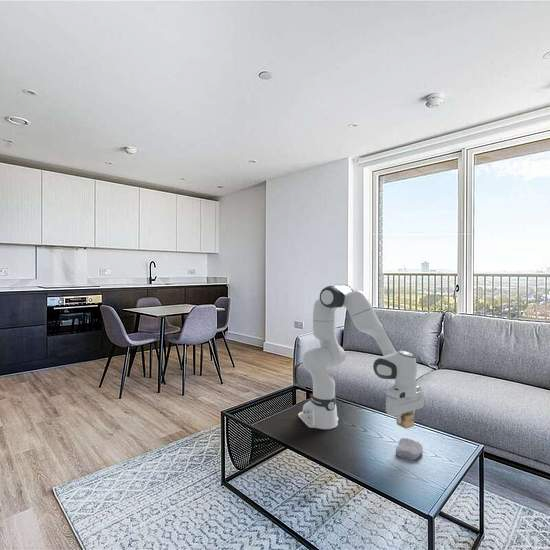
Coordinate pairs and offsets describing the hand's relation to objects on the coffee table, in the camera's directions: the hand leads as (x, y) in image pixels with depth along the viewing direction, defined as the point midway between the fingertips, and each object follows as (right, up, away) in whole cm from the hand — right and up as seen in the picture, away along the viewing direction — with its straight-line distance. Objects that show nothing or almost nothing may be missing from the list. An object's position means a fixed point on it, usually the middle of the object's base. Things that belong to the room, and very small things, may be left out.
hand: (405, 421), depth 150 cm
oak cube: (0, -2, 0) cm, 2 cm away
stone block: (+2, -14, -1) cm, 14 cm away
